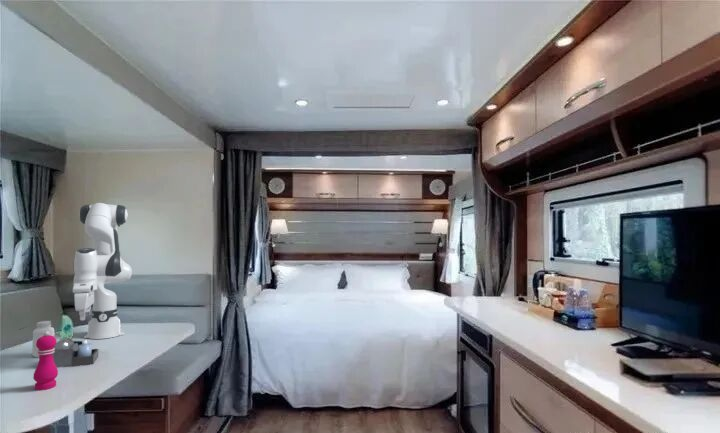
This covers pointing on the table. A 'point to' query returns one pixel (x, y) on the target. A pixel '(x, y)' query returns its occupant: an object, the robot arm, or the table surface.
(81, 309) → the robot arm
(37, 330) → the pill bottle
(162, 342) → the table surface
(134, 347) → the table surface
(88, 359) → the dark grey piece
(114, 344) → the table surface
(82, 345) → the light blue bottle
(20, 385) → the table surface
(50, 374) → the pepper mill
